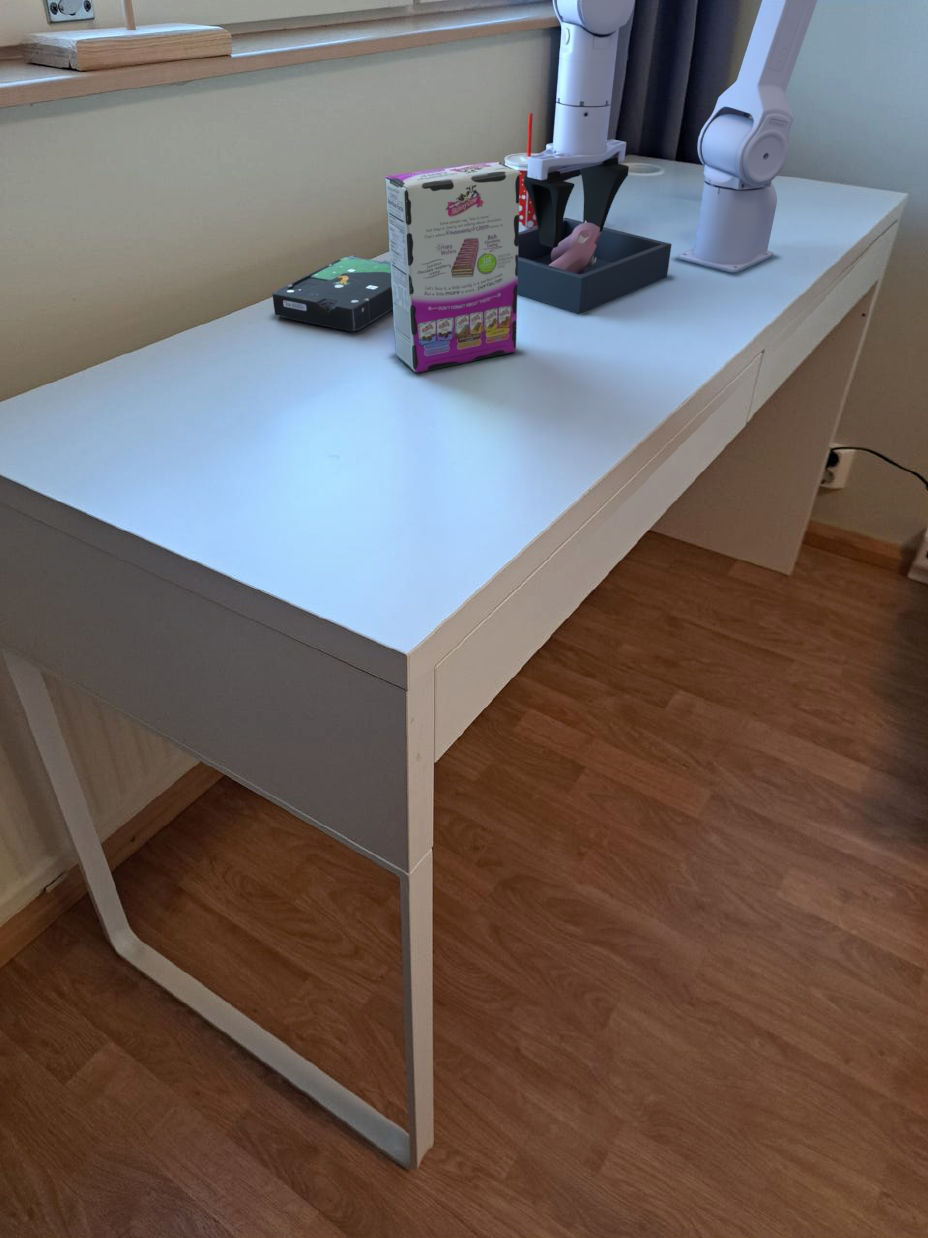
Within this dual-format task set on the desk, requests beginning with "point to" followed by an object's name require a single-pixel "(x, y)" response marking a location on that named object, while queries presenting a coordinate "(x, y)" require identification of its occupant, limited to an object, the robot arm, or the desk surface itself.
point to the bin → (590, 269)
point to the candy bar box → (454, 263)
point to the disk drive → (339, 294)
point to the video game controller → (577, 249)
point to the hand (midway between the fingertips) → (571, 238)
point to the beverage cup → (521, 164)
